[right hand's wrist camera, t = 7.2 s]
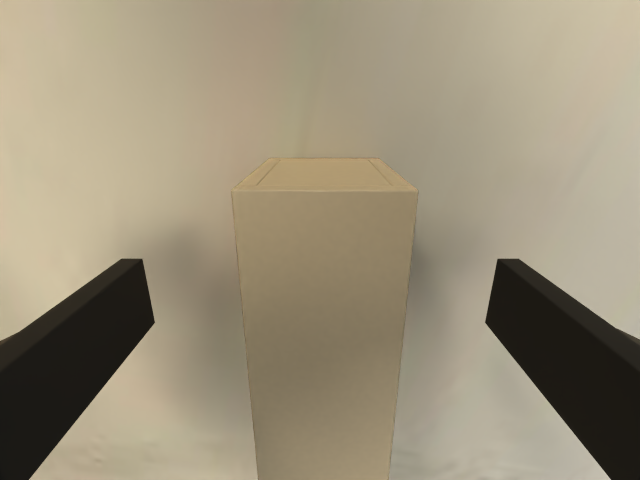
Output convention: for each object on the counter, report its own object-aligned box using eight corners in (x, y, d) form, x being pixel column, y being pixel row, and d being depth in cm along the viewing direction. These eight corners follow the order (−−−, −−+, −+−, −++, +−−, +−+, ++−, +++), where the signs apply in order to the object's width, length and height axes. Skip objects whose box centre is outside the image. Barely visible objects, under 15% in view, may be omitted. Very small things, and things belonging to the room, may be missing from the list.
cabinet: (364, 399, 25) (383, 529, 17) (281, 399, 25) (262, 528, 17) (379, 158, 19) (419, 189, 11) (268, 158, 19) (230, 189, 11)
